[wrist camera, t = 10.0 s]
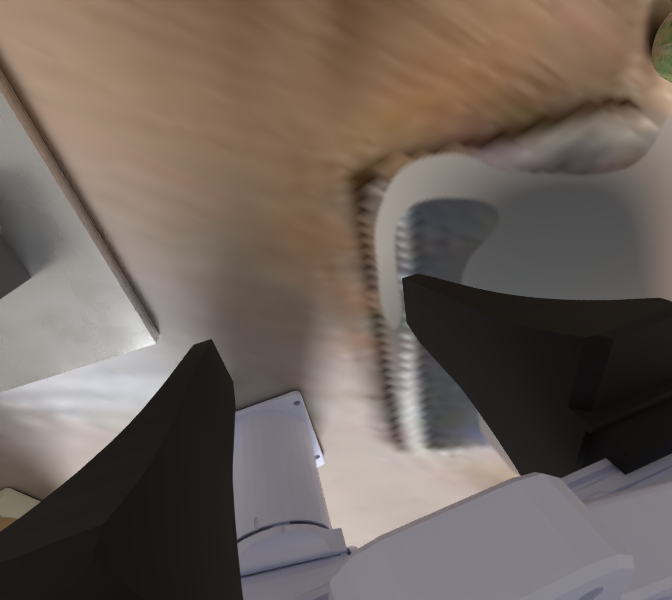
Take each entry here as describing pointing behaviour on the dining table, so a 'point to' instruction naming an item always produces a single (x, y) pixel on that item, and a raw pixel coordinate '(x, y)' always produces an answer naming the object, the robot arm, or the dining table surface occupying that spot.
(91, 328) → the shaft plate
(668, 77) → the vegetable
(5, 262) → the hollow square box
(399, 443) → the dining table surface
